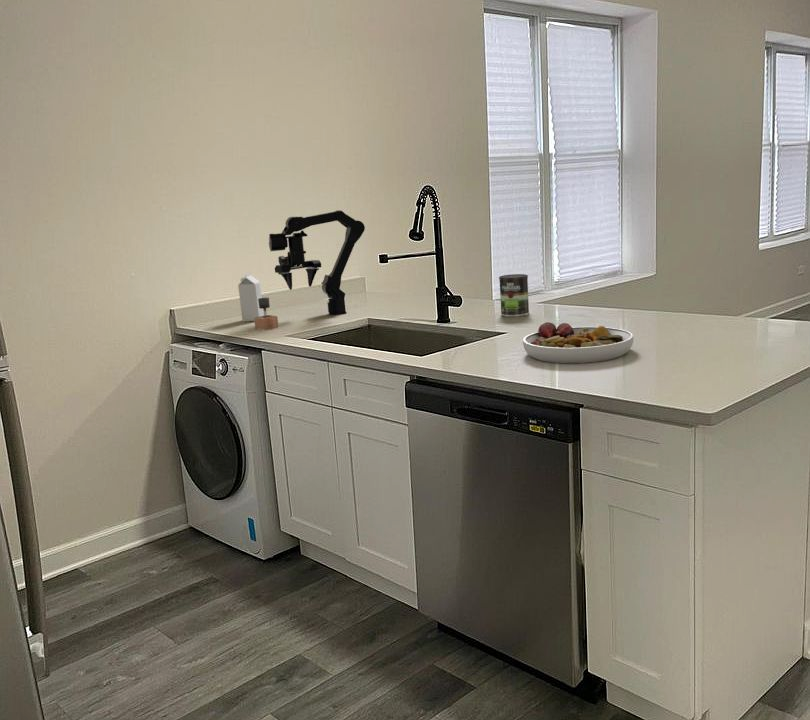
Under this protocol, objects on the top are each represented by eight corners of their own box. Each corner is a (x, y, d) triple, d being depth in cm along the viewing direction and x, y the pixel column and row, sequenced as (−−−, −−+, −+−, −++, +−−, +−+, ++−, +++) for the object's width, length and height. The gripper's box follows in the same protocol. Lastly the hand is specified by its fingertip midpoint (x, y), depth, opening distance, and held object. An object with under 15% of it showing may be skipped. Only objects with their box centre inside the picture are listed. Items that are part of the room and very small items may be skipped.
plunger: (268, 322, 324) (265, 297, 322) (273, 323, 321) (270, 297, 319) (259, 324, 321) (256, 298, 319) (264, 324, 318) (261, 299, 316)
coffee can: (525, 316, 299) (523, 277, 296) (497, 317, 303) (495, 278, 300) (532, 311, 308) (530, 273, 305) (505, 312, 312) (503, 274, 309)
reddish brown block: (269, 325, 326) (268, 314, 325) (282, 327, 319) (281, 316, 318) (255, 328, 322) (253, 317, 321) (267, 330, 315) (266, 319, 314)
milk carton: (264, 318, 346) (258, 272, 342) (259, 321, 339) (254, 274, 335) (247, 319, 347) (241, 273, 343) (242, 322, 340) (236, 275, 336)
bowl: (657, 351, 231) (656, 322, 229) (580, 372, 214) (579, 341, 212) (575, 339, 255) (574, 313, 253) (501, 357, 238) (500, 330, 237)
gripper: (304, 246, 344) (308, 284, 348) (265, 251, 333) (269, 290, 336) (320, 246, 336) (324, 285, 339) (280, 251, 324) (284, 291, 328)
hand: (300, 288), depth 336 cm, fingers open, 9 cm apart
